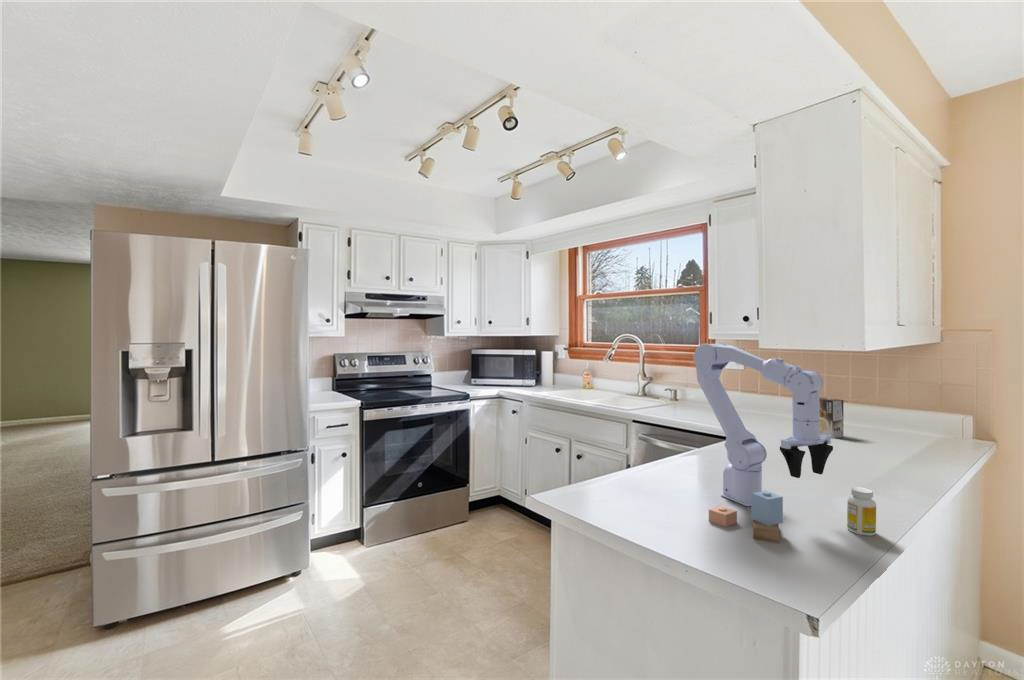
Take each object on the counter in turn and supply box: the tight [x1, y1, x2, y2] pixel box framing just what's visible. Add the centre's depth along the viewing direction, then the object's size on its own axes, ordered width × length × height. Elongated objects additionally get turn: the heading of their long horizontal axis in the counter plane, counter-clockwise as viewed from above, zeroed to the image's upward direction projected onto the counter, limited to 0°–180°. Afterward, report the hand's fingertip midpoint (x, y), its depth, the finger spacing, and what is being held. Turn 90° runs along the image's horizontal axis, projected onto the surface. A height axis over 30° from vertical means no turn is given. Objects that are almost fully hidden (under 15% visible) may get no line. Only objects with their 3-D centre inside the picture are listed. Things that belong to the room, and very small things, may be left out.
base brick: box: [752, 519, 780, 544], centre depth 111 cm, size 10×5×3 cm, turn 154°
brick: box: [708, 505, 738, 528], centre depth 118 cm, size 4×4×3 cm
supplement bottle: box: [846, 486, 877, 536], centre depth 111 cm, size 5×5×10 cm
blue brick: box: [750, 490, 784, 526], centre depth 111 cm, size 4×4×6 cm
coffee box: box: [819, 397, 844, 439], centre depth 212 cm, size 9×6×16 cm
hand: (806, 475), depth 120 cm, fingers open, 7 cm apart
